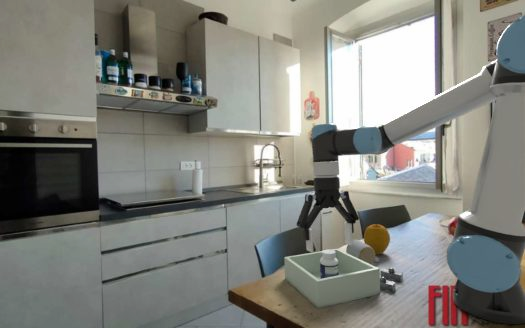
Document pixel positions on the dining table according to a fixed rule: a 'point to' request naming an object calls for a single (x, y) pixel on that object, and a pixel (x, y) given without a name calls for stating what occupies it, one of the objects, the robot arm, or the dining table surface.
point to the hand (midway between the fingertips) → (329, 247)
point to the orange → (377, 238)
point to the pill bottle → (328, 264)
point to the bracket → (389, 275)
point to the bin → (332, 278)
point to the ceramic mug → (362, 252)
